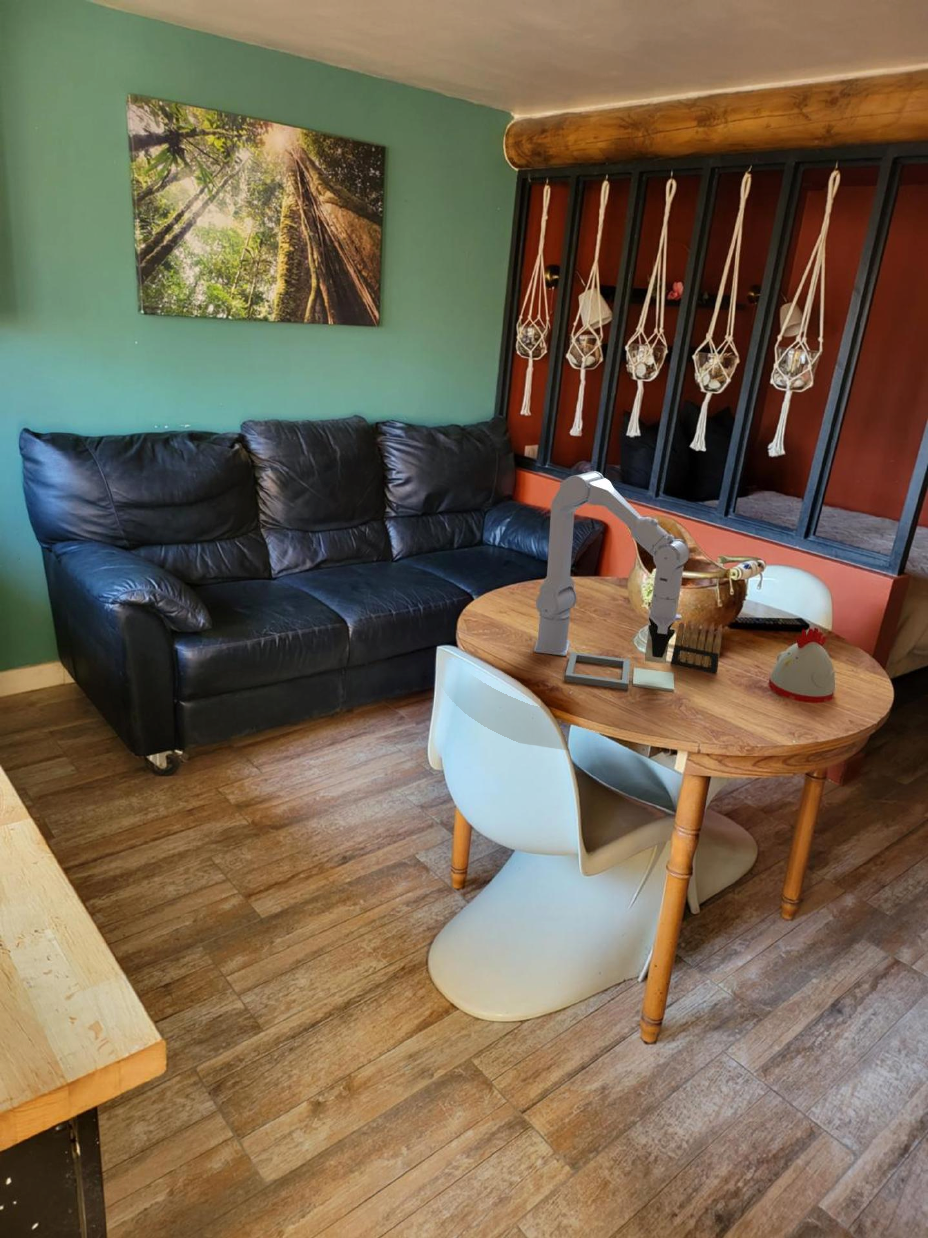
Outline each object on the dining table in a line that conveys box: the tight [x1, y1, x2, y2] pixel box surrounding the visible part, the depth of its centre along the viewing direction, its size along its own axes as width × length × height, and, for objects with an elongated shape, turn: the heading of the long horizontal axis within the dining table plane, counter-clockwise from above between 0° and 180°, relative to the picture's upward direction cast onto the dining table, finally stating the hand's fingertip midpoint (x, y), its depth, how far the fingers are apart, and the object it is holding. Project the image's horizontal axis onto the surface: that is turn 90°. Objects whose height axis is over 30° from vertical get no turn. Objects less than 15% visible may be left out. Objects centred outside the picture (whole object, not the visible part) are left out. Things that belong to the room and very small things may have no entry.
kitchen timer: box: [768, 627, 836, 704], centre depth 186 cm, size 14×14×15 cm
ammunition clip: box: [670, 619, 723, 674], centre depth 195 cm, size 11×2×12 cm, turn 65°
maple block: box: [644, 630, 670, 664], centre depth 186 cm, size 4×4×6 cm
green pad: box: [632, 667, 675, 692], centre depth 189 cm, size 9×9×1 cm
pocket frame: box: [564, 651, 631, 691], centre depth 191 cm, size 14×14×2 cm
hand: (657, 652), depth 186 cm, fingers closed on maple block, 4 cm apart
